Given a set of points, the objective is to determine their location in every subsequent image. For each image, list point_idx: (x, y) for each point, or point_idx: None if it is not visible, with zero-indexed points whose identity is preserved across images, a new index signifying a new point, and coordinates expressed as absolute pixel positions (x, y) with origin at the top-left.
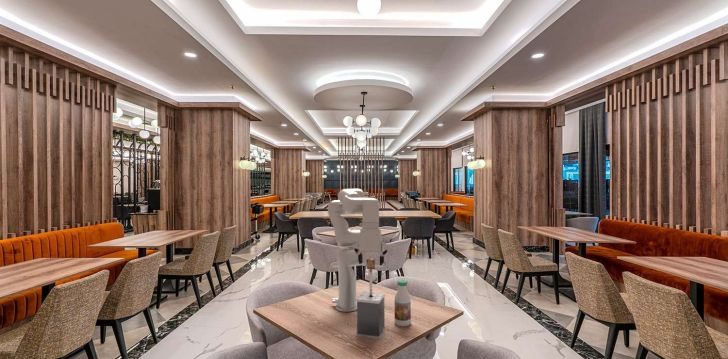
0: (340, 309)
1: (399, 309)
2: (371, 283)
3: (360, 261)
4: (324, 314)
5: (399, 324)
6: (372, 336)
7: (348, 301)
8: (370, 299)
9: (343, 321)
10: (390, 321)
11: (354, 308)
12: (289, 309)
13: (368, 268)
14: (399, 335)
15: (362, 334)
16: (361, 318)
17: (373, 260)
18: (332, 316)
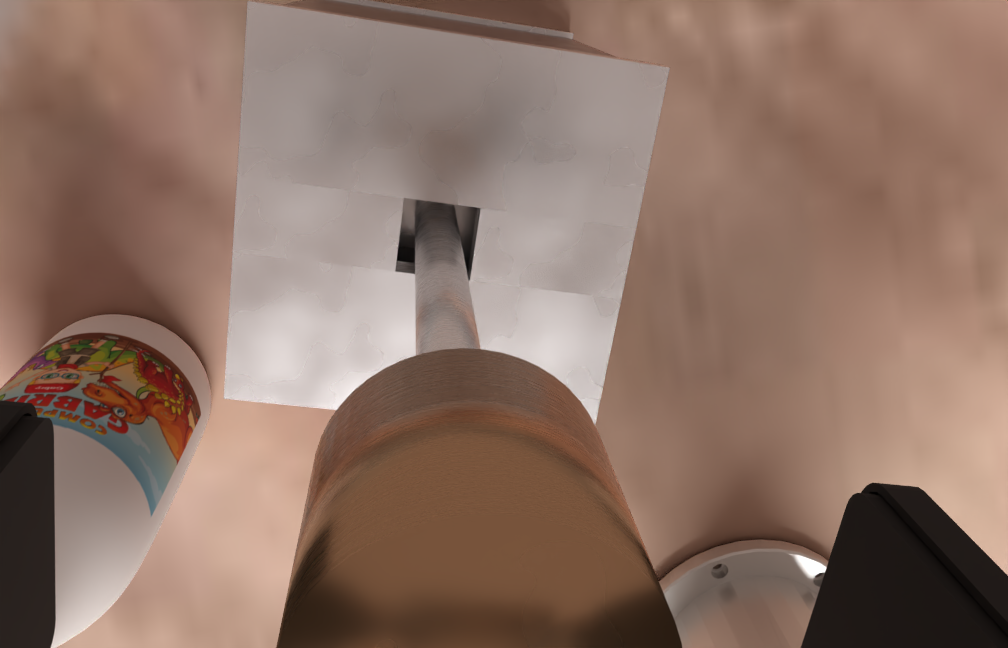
0: (808, 555)
1: (89, 387)
2: (428, 295)
3: (902, 537)
4: (949, 457)
5: (143, 322)
6: (393, 5)
7: (754, 629)
8: (423, 85)
9: (744, 338)
10: (263, 412)
11: (669, 597)
12: None
13: (524, 367)
14: (114, 110)
15: (507, 25)
16: (539, 40)
17: (327, 568)
18: (866, 428)
